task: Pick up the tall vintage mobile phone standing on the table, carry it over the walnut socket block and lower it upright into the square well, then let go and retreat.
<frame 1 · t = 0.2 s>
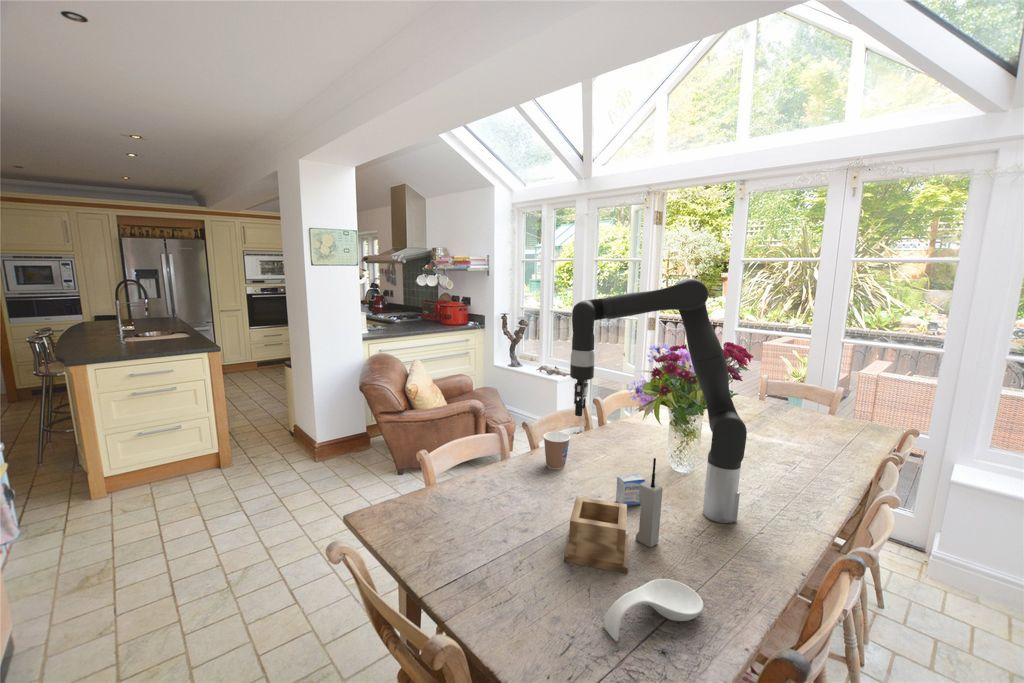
hand: (580, 411, 146), 29 cm above the table, fingers open, 8 cm apart
coffee cup: (555, 466, 173), on the table
socket block: (597, 549, 122), on the table
vintage mobile phone: (646, 542, 126), on the table
spoon rest: (653, 619, 98), on the table
medicine box: (629, 502, 147), on the table
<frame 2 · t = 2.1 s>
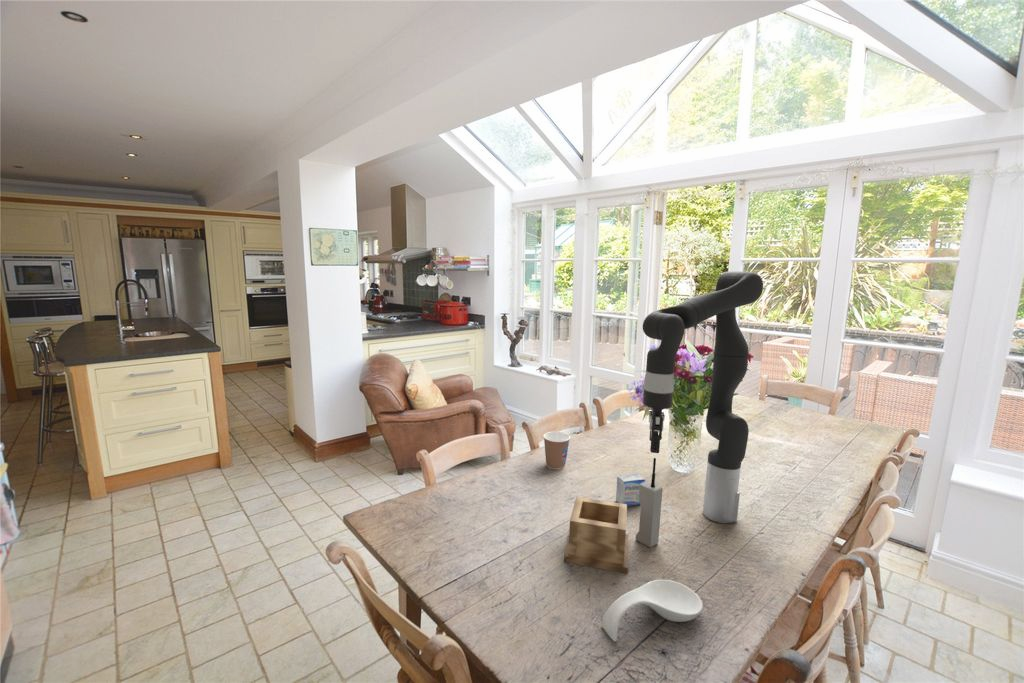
hand: (654, 446, 121), 28 cm above the table, fingers open, 8 cm apart
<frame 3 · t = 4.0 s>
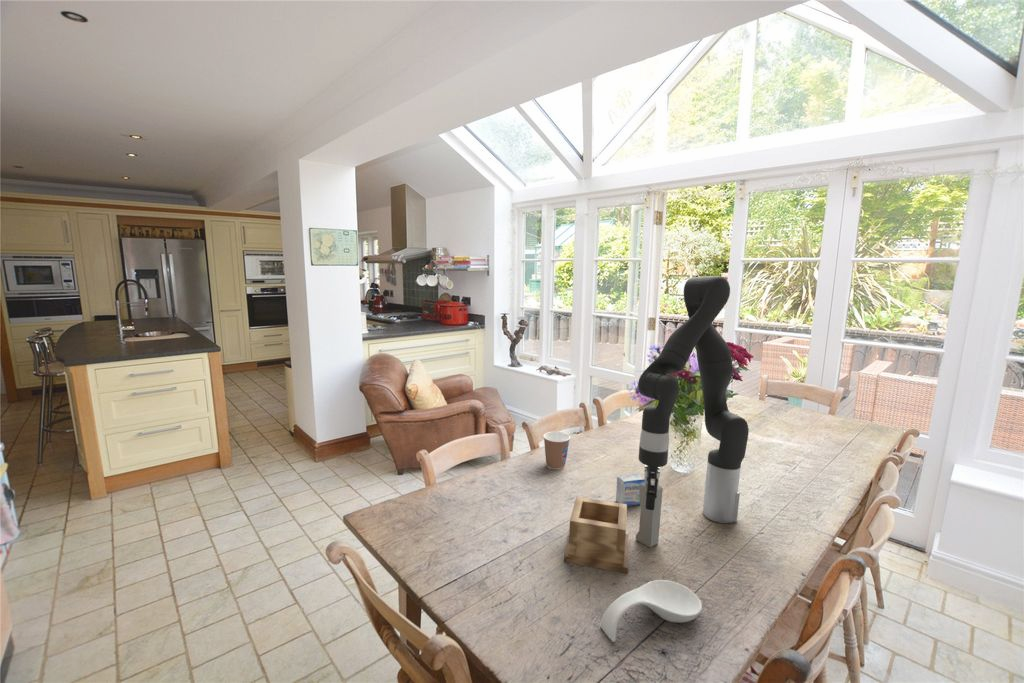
hand: (649, 503, 124), 12 cm above the table, fingers closed on vintage mobile phone, 5 cm apart
vintage mobile phone: (646, 542, 126), on the table, touching gripper
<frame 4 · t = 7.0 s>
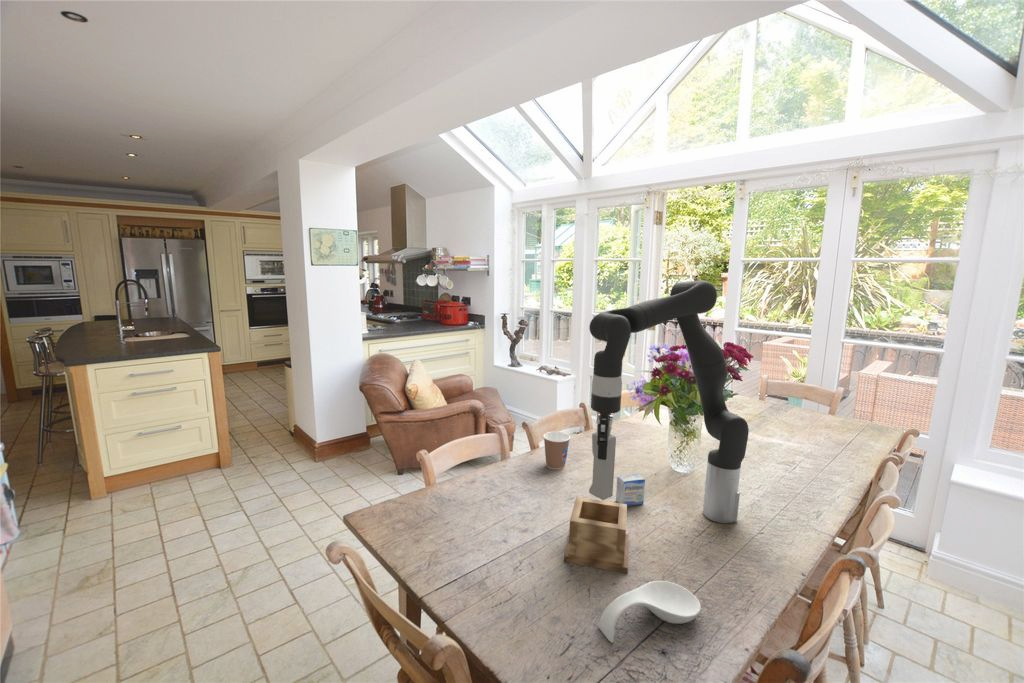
hand: (602, 454, 117), 27 cm above the table, fingers closed on vintage mobile phone, 5 cm apart
vintage mobile phone: (600, 495, 119), point 16 cm above the table, touching gripper
when the fingers open (15 cm above the table, at t = 10.2 s): vintage mobile phone drops 2 cm, resting on socket block.
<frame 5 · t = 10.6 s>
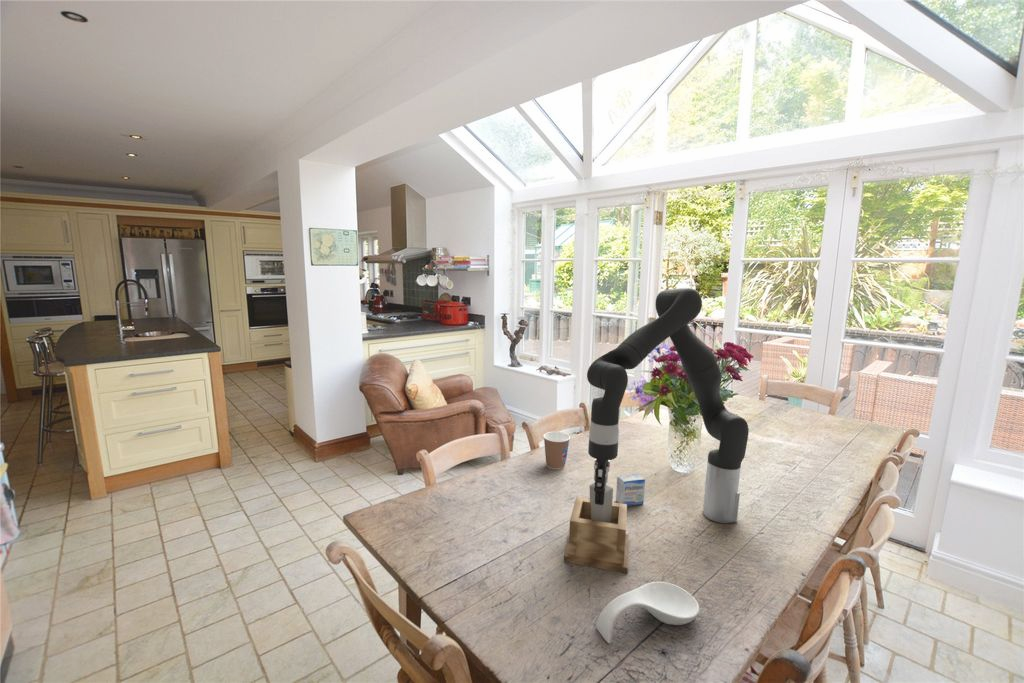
hand: (600, 496, 119), 16 cm above the table, fingers open, 8 cm apart
vintage mobile phone: (597, 544, 122), point 1 cm above the table, touching socket block
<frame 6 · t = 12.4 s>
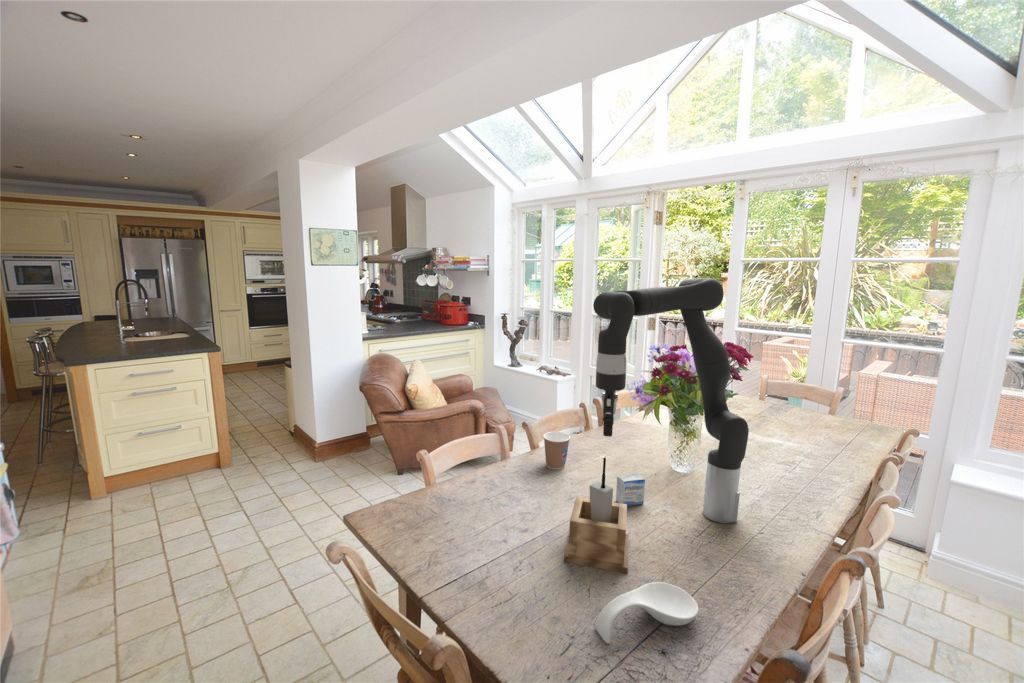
hand: (608, 430, 118), 33 cm above the table, fingers open, 8 cm apart
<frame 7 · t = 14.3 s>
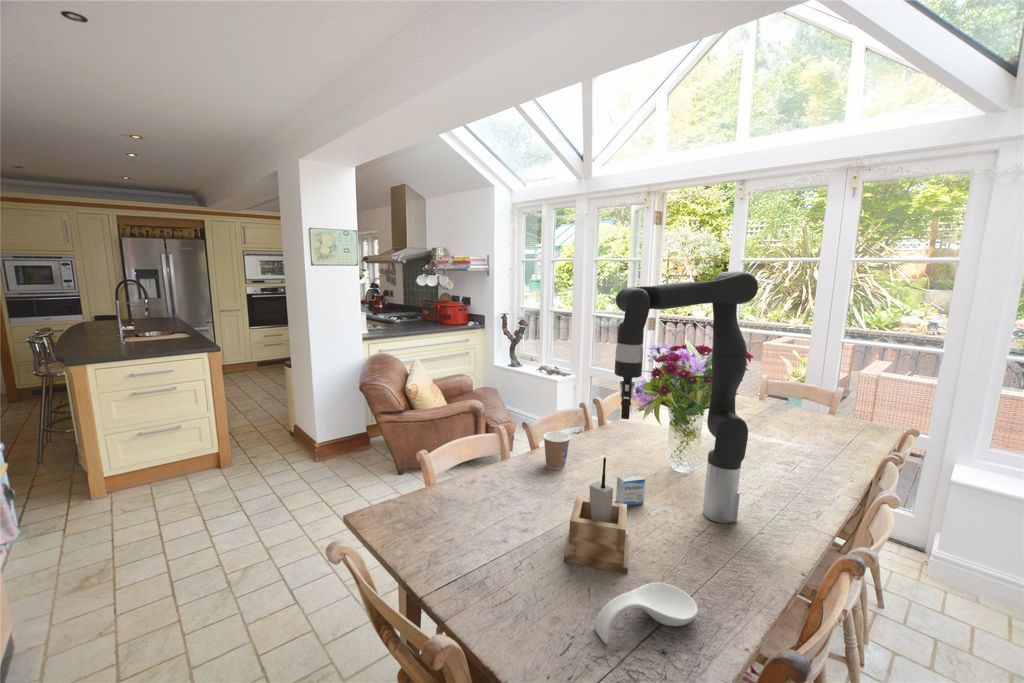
hand: (625, 414, 129), 34 cm above the table, fingers open, 8 cm apart
at the end: vintage mobile phone inside the target area on the socket block (0.3 cm from its centre), point 1.3 cm above the socket block's base; vintage mobile phone tilted 0°; the gripper is holding nothing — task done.
